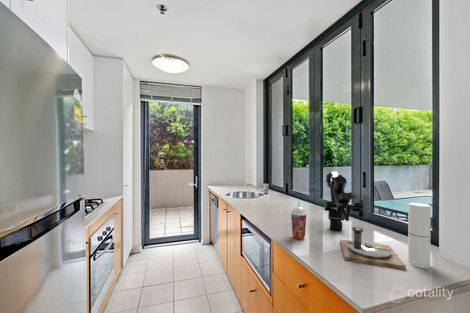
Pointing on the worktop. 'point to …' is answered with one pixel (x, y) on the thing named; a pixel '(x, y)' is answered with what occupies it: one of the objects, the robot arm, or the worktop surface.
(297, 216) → the smoothie
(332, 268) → the worktop surface
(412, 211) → the cylindrical container
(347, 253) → the board
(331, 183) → the robot arm
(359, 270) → the worktop surface
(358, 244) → the dial
